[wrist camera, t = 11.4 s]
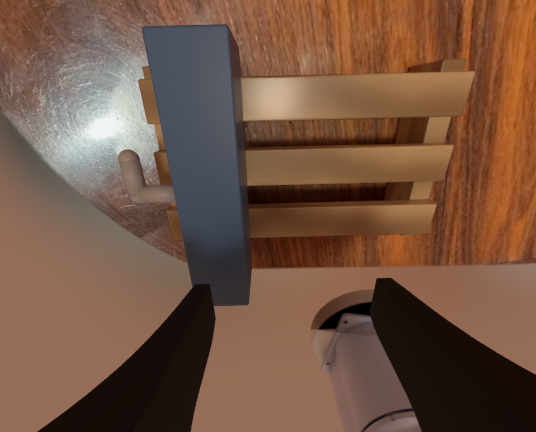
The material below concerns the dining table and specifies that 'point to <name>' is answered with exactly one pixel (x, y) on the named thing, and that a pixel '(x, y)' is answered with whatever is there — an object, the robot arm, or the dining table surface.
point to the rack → (345, 147)
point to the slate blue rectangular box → (201, 153)
